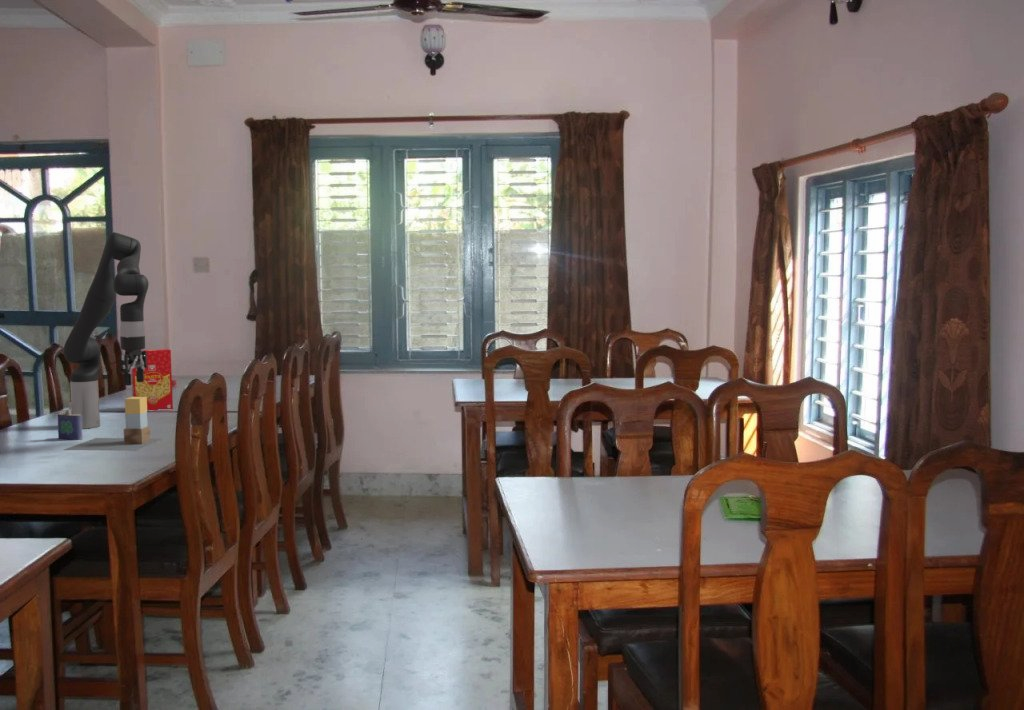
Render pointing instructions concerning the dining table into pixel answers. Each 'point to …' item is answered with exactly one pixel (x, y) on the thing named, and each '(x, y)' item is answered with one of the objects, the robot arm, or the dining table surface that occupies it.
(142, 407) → the ochre block
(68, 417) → the flask
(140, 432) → the tower base
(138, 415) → the tower mid
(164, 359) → the food packaging
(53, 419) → the dining table surface
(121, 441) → the slate mat
